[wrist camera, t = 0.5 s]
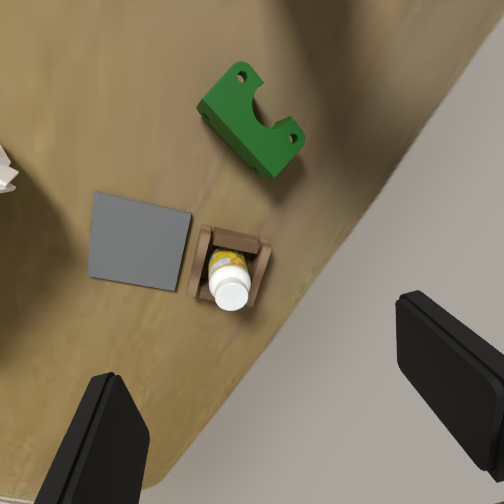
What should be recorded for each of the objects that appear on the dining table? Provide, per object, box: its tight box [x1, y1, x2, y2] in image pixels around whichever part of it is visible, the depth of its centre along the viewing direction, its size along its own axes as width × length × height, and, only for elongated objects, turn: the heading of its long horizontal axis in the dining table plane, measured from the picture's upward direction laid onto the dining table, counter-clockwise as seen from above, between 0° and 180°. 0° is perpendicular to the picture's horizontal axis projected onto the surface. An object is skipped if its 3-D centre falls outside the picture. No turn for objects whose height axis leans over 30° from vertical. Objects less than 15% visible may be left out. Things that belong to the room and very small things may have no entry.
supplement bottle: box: [209, 247, 251, 311], centre depth 41 cm, size 5×5×10 cm
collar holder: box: [187, 224, 272, 307], centre depth 44 cm, size 10×10×4 cm
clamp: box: [197, 62, 305, 178], centre depth 35 cm, size 12×6×9 cm, turn 38°
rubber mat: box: [87, 191, 191, 291], centre depth 42 cm, size 12×12×1 cm
